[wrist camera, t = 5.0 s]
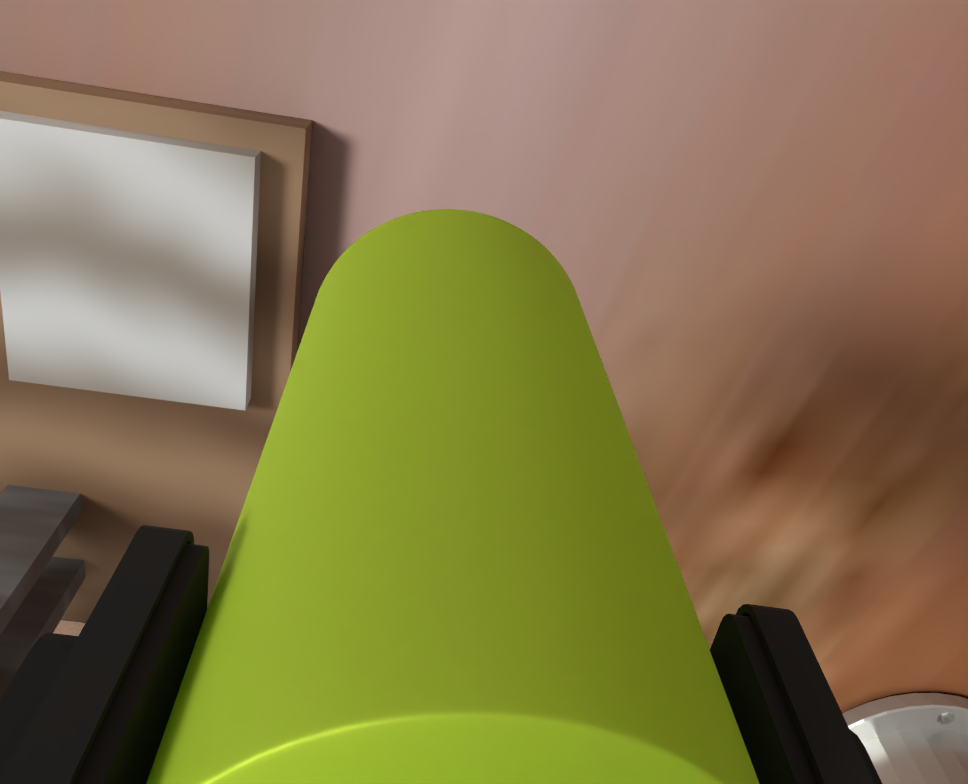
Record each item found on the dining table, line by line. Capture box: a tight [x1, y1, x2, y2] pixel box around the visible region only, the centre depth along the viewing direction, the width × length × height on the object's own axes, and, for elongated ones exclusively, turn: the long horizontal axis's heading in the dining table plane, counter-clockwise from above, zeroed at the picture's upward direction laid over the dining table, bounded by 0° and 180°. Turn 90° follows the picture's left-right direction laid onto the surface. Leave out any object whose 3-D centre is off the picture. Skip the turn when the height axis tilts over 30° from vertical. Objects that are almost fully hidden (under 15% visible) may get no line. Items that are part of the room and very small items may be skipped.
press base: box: [0, 71, 312, 698], centre depth 31 cm, size 24×12×14 cm, turn 171°
